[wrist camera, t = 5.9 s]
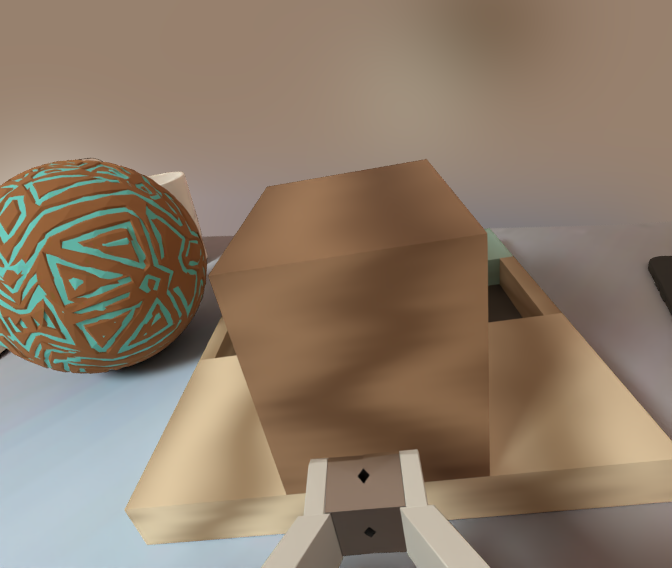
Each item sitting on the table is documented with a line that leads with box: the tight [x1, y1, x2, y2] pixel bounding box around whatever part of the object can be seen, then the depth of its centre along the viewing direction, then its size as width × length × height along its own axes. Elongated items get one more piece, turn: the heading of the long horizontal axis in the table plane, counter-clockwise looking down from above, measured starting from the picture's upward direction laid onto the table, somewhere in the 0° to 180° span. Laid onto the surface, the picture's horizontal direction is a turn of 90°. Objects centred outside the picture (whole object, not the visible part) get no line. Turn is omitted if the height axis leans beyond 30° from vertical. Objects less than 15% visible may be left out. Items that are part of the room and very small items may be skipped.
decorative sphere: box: [0, 160, 207, 374], centre depth 30 cm, size 15×15×15 cm
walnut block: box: [208, 159, 490, 495], centre depth 18 cm, size 8×10×10 cm
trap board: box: [125, 228, 672, 545], centre depth 28 cm, size 22×24×2 cm
